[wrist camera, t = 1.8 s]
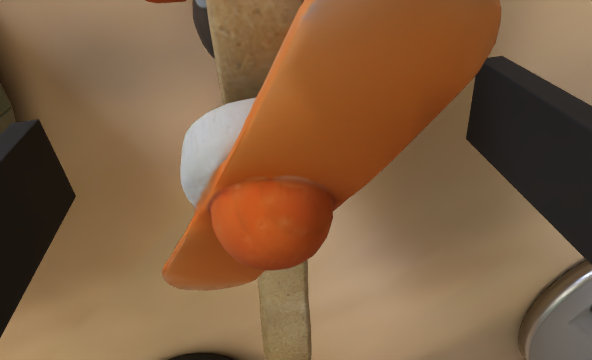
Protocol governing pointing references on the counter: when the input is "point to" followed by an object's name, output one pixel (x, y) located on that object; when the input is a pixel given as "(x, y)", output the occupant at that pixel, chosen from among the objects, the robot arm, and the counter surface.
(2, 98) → the bowl
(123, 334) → the counter surface
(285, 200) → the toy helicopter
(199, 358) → the pen holder
